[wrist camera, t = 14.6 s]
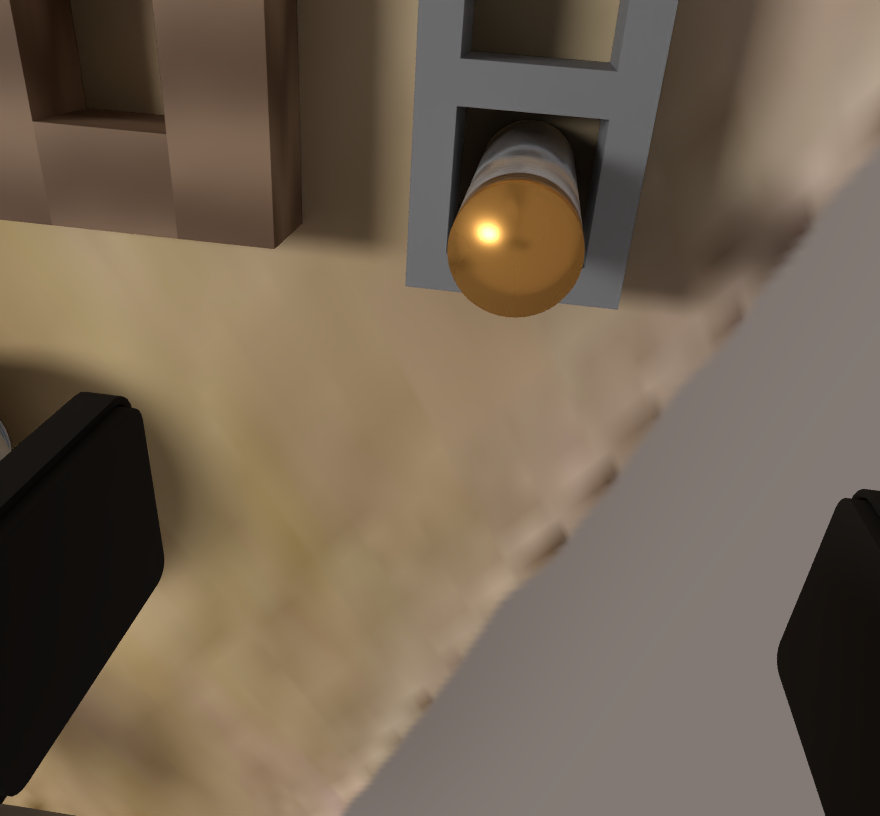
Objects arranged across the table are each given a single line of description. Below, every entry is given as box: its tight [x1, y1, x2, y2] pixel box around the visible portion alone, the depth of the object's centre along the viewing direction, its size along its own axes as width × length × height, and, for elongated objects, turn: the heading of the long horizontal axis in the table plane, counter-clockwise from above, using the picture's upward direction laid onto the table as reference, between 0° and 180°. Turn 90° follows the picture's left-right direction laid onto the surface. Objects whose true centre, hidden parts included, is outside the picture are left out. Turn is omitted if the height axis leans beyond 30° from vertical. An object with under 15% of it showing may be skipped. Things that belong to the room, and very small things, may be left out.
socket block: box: [0, 0, 302, 249], centre depth 30 cm, size 14×14×4 cm
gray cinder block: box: [406, 0, 678, 310], centre depth 29 cm, size 16×9×4 cm, turn 176°
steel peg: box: [447, 120, 585, 317], centre depth 27 cm, size 4×4×12 cm
